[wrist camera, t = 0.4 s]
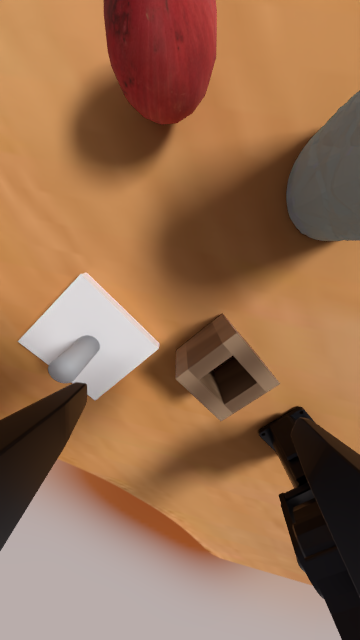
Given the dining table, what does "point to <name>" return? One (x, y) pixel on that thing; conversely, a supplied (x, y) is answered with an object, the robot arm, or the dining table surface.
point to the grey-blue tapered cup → (329, 179)
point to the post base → (96, 322)
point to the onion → (162, 53)
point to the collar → (222, 369)
